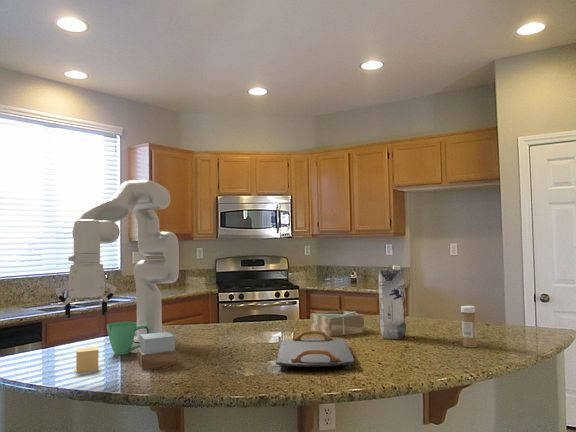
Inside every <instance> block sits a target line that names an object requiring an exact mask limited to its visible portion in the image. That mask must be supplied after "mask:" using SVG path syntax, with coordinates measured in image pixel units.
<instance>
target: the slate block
mask: <svg viewBox="0 0 576 432" xmlns="http://www.w3.org/2000/svg"><path fill="white" fill-rule="evenodd" d="M175 337H176V336H175V335H174V334H172V333H171V332H170V331H162V332H159V333H150V334H141V335H140V342H139V344H140V347H139V349H140V350H141V351H142V352H143V353H144V354H152V353H160V352H168V351H176V345H175V344H176V338H175Z"/></svg>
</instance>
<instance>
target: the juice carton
mask: <svg viewBox="0 0 576 432" xmlns="http://www.w3.org/2000/svg"><path fill="white" fill-rule="evenodd" d="M378 297H379V298H378V302H379V304H378V305H379V325H380V326H379V327H380V328H379V329H380V332H381V337H382V338H383V339H389V340H391V339H392V340H402V339H403V338H404V337H405V335H406V331H407V305H406V304H407V303H406V302H407V301H406V300H407V299H406V281H405V271H404V268H401V266H400V265H392V268H383V269H379V270H378Z"/></svg>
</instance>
